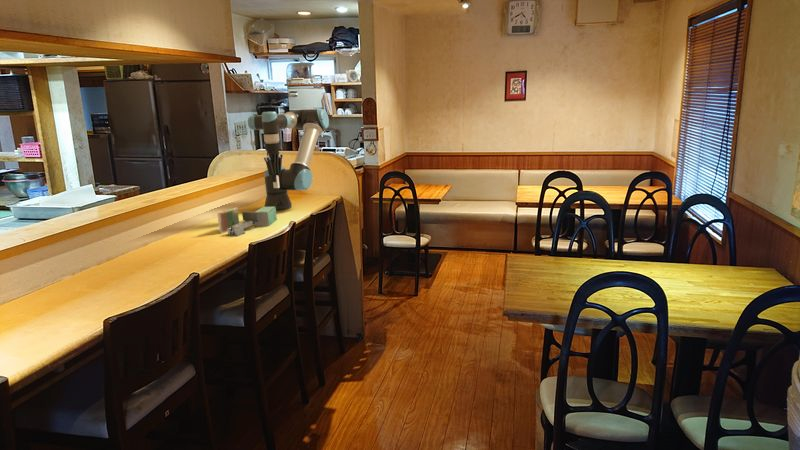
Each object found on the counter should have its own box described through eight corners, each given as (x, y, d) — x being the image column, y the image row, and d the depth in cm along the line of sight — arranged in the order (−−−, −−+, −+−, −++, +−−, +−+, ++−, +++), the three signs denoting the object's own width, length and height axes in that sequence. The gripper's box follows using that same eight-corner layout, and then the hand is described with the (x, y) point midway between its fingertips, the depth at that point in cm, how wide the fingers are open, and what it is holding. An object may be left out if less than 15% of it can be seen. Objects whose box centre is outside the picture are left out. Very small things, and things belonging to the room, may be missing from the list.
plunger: (241, 223, 263) (239, 211, 262) (260, 224, 259) (258, 212, 257) (222, 230, 251) (220, 217, 250) (242, 231, 247) (240, 218, 245)
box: (277, 219, 275) (275, 205, 273) (269, 226, 262) (267, 211, 260) (263, 220, 276) (262, 206, 274) (254, 227, 263) (252, 212, 261)
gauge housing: (238, 226, 264) (235, 207, 262) (257, 228, 259) (255, 208, 257) (217, 234, 251) (214, 214, 248) (237, 236, 246) (234, 215, 243)
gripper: (273, 141, 278) (278, 185, 284) (258, 143, 266) (263, 189, 272) (285, 141, 275) (289, 185, 281) (270, 143, 263) (275, 190, 269)
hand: (276, 187), depth 276 cm, fingers closed
